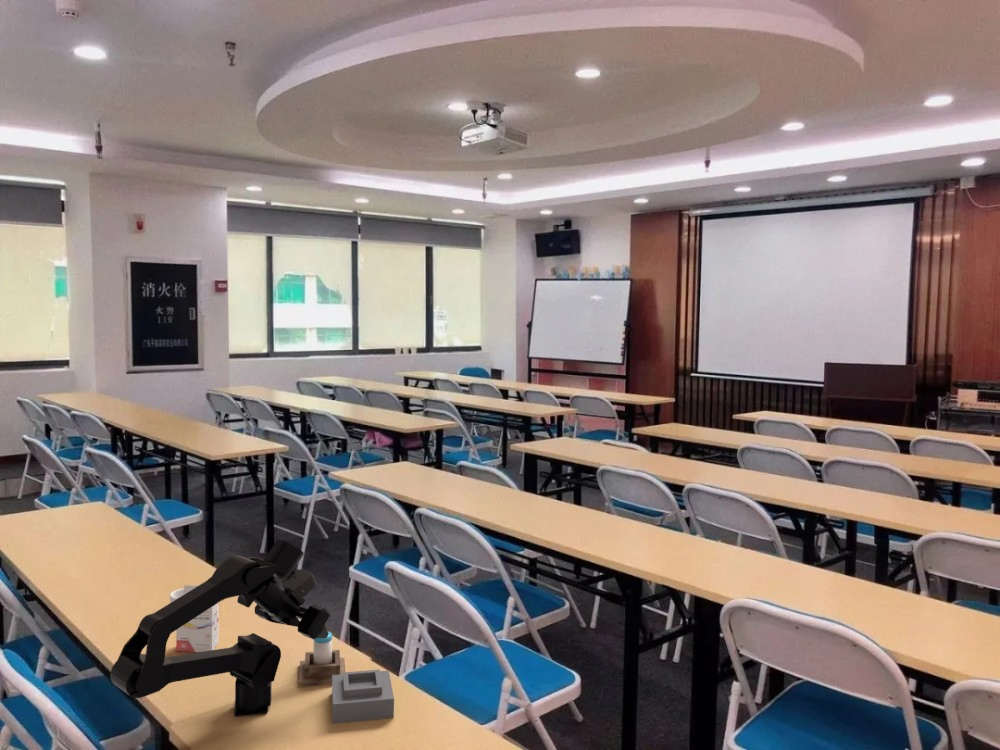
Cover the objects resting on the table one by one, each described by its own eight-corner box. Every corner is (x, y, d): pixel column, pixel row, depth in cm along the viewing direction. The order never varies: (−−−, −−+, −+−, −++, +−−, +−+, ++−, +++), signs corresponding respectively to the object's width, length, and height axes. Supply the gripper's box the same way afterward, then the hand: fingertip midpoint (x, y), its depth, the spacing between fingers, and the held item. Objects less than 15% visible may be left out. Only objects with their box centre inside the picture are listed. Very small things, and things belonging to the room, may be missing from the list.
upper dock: (332, 723, 147) (333, 697, 147) (331, 693, 159) (332, 668, 158) (393, 717, 150) (394, 691, 150) (388, 688, 162) (389, 663, 161)
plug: (323, 675, 164) (323, 640, 164) (309, 670, 166) (309, 636, 165) (335, 667, 168) (335, 633, 167) (321, 663, 170) (322, 629, 169)
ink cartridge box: (175, 652, 175) (174, 591, 174) (183, 643, 180) (183, 584, 179) (212, 653, 175) (211, 592, 174) (219, 643, 180) (219, 584, 179)
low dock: (298, 686, 161) (298, 671, 161) (300, 665, 171) (300, 650, 170) (345, 682, 163) (345, 667, 163) (344, 661, 173) (344, 647, 173)
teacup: (207, 612, 198) (207, 592, 198) (180, 621, 192) (179, 601, 192) (187, 602, 204) (187, 583, 204) (160, 611, 198) (159, 591, 198)
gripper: (323, 572, 153) (362, 608, 163) (266, 553, 163) (305, 587, 173) (292, 621, 147) (334, 655, 157) (234, 598, 158) (277, 631, 168)
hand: (312, 630), depth 164 cm, fingers open, 9 cm apart
